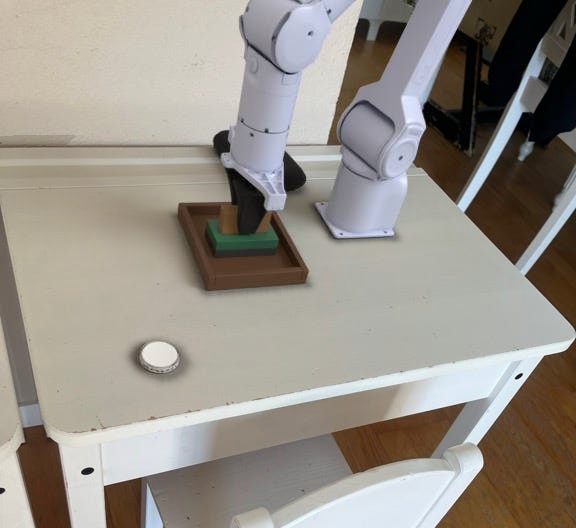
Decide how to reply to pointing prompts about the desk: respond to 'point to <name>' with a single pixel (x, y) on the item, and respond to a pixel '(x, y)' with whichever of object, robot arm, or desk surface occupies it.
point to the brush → (239, 236)
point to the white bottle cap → (159, 356)
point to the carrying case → (292, 170)
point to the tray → (243, 269)
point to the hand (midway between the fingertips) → (243, 226)
